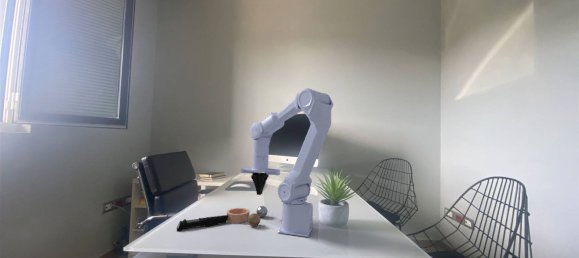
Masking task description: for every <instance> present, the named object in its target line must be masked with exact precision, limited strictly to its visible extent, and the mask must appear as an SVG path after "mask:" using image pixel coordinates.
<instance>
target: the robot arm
mask: <svg viewBox="0 0 579 258" xmlns="http://www.w3.org/2000/svg"><path fill="white" fill-rule="evenodd" d="M333 107H334V102H333V100H332V98H331V96H330V94H328V93H326V92H325V93H324V92H320V91H317V90H313V89H312V88H310V87H308V88H307V87H306V88H304V89H302V90H301V91H300V92H298V93H297V94H295V98H294V99H293V100H292V101H290V103H288V104H287V105H286V106H284V108H283V109H282V110H280V111H279V112H276V111H274V112H270V113H269V115H268V116H267V117H265V118H264V119H262V120H261V121H260V122H253V124H252V125H251V126H250V130H249V134H250V136H251V138H252V139H253V140H252V143H253V144H252V166H251V167H249V166H248V167H246V166H244V167H240V174H250V179H251V180H252V182H253V184H254V187H255V194H256V195H257V196H261V195H263V192H264V188H265V184H266V182H267V180H268V178H269V175H270V176H271V175H272V176H280V175H281V169H279V168H277V169H276V168H271V167H269V156H270V155H269V151H270V149H269V148H270V144H271V138H272V137H273V134H274V133H276V132H277V131H278V130H280V129H281V128H283V127H284V126H285V121H287V120H289V119H291V118H292V117H294V116H296V115H297V114H299V113H301V112H303V113H304V114H305V115H306V117H307V118H308V120H309V123H310V126H309V128H308V131H307V134H306V136H305V138H304V141H303V143H302V145H301V148H300V151H299V153H298V156H297V158H296V161H295V163H294V166H293V168H292V170H291V171H290V172H288V174H286V175H285V176H284V178H283V180H282V181H281V182H280V183H279V185H278V187H277V195H278V197H279V200H280V202H281V203H282V214H281V215H282V219H281V222H282V223H281V226H280V227H279V229H278V230H277V233H278V234H284V235H289V236H290V235H292V236H298V237H306V238H309V236H310V235H311V233H312V230H313V228H314V227H313V221H314V217H313V215H314V207H313V205H314V204H313V203H311V202H307V200H308V197H309V196H310V194H311V189H312V188H311V186H312V183H313V180H312V178H311V177H310V175H311V174H312V173H311V172H312V170H313V168H314V166H315V163H316V161H317V160H318V159H317V158H318V156H319V154H320V152H321V150H322V147H323V144H324V143H325V141H326V138H327V136H328V133H329V131H330V129H331V126H332V109H333Z"/></svg>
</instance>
